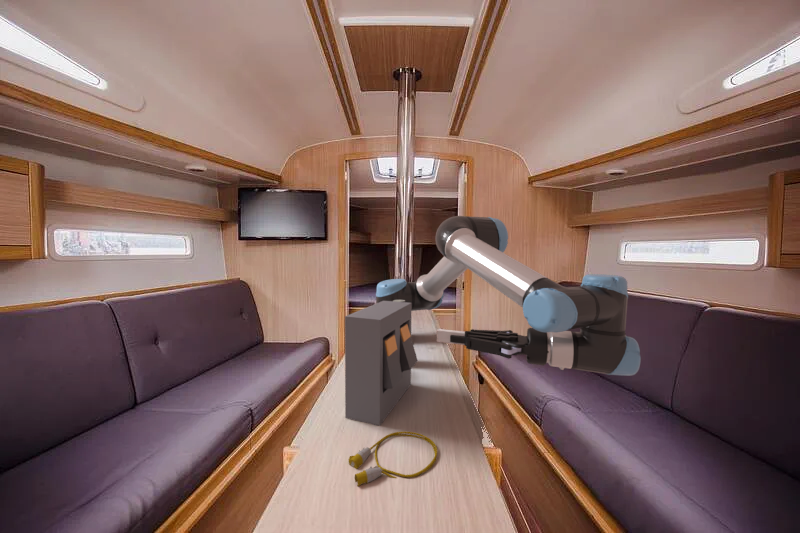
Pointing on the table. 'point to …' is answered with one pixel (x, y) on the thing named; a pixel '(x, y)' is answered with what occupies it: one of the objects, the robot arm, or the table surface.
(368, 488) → the table surface
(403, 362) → the panel
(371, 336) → the block
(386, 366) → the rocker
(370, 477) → the extension cord
